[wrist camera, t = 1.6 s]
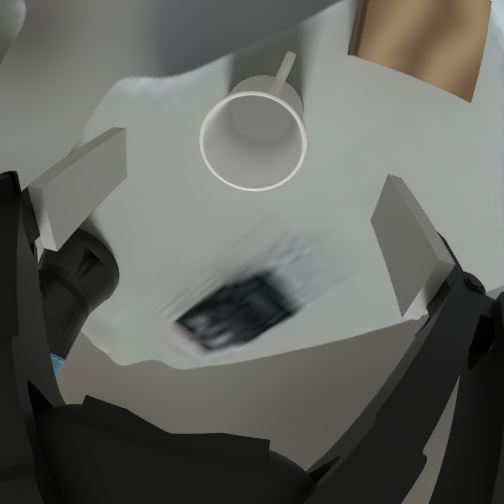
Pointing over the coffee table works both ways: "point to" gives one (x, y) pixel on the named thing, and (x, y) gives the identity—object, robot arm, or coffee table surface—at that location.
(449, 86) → the walnut box
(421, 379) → the robot arm
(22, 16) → the coffee table surface
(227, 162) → the mug
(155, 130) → the coffee table surface
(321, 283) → the coffee table surface
